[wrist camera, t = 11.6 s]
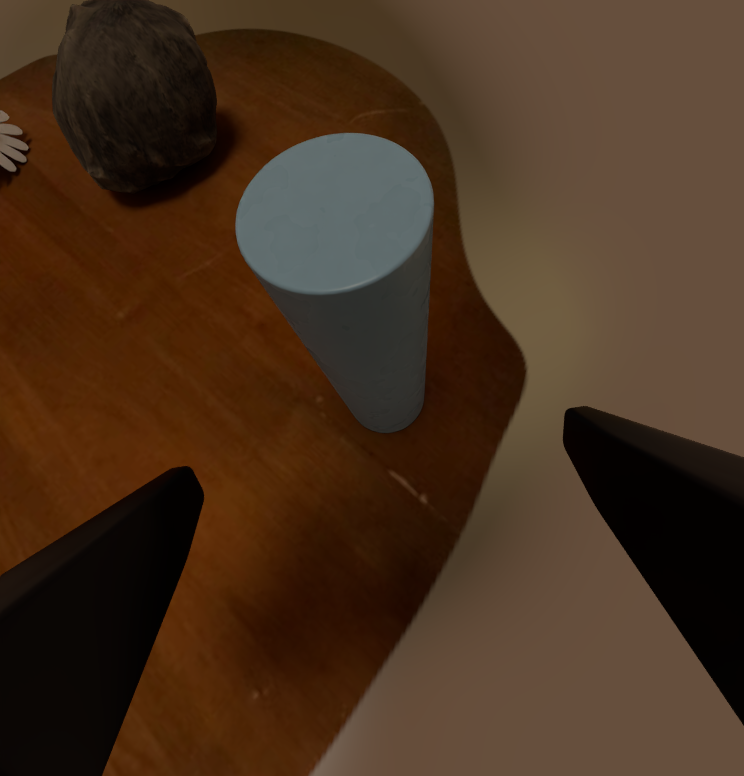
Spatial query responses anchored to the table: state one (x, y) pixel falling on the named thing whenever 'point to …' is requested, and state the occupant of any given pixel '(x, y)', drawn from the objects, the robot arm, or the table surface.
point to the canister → (349, 265)
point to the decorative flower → (10, 144)
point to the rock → (133, 93)
